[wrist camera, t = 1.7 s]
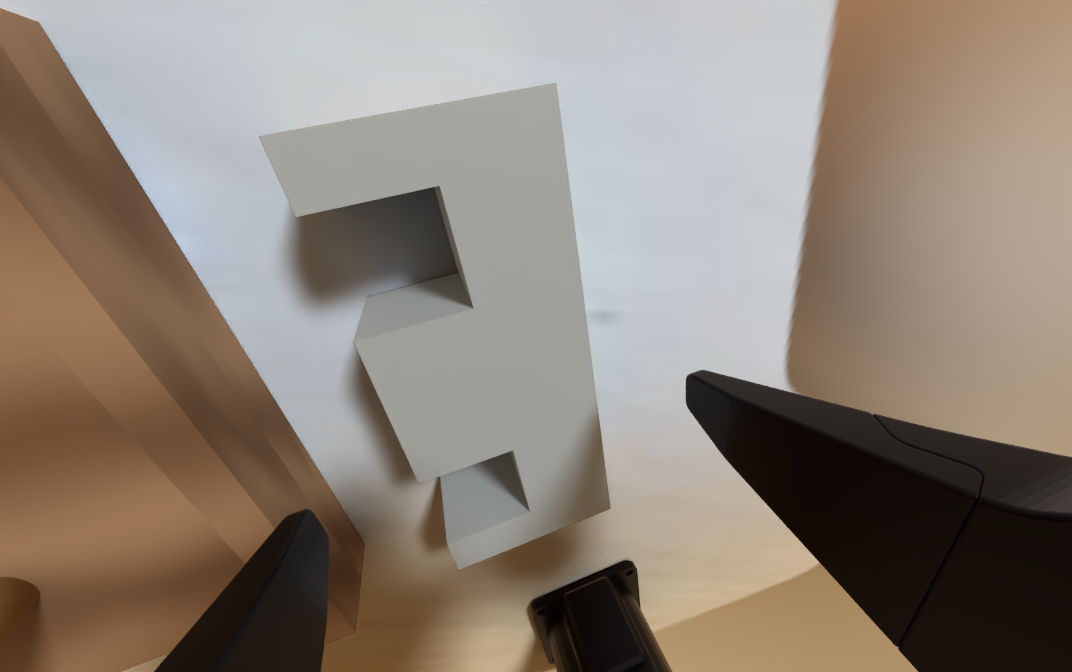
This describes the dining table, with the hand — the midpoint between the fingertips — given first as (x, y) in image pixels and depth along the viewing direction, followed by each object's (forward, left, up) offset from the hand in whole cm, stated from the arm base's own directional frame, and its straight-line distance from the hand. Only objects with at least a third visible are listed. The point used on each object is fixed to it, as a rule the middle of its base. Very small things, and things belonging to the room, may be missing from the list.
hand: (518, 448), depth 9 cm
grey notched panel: (0, 0, -6) cm, 6 cm away
